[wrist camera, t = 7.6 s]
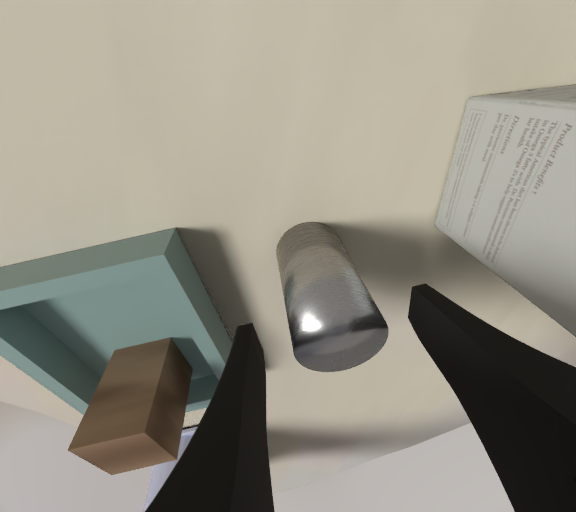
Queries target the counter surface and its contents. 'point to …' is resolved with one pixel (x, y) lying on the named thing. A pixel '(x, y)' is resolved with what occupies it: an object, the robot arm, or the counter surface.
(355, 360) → the grey peg
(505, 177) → the supplement box
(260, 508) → the robot arm
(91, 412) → the walnut block
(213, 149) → the counter surface
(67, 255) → the parts tray
